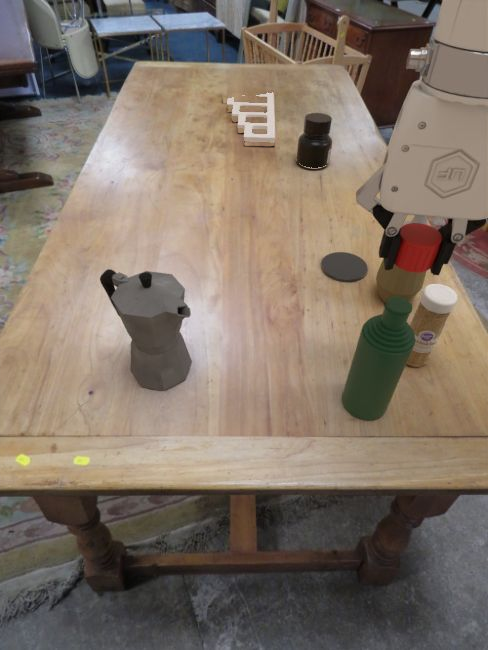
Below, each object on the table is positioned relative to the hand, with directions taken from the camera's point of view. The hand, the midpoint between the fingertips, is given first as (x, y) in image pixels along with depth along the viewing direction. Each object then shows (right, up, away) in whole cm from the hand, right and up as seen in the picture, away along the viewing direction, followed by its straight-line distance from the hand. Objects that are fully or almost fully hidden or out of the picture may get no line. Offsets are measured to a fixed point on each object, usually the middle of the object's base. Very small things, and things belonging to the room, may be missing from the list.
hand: (410, 263), depth 46 cm
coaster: (+2, +5, +40) cm, 40 cm away
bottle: (0, -18, +17) cm, 24 cm away
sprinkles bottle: (+9, -12, +24) cm, 28 cm away
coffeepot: (-31, -13, +22) cm, 40 cm away
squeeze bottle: (+10, -1, +34) cm, 36 cm away
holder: (-17, +61, +96) cm, 115 cm away
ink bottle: (+1, +38, +73) cm, 82 cm away
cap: (0, 0, 0) cm, 0 cm away
